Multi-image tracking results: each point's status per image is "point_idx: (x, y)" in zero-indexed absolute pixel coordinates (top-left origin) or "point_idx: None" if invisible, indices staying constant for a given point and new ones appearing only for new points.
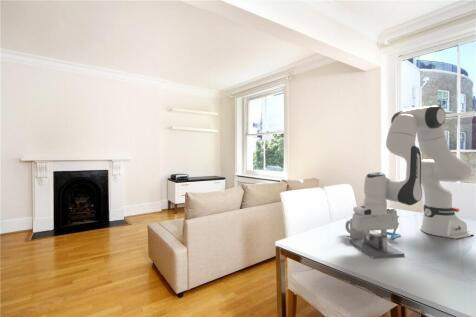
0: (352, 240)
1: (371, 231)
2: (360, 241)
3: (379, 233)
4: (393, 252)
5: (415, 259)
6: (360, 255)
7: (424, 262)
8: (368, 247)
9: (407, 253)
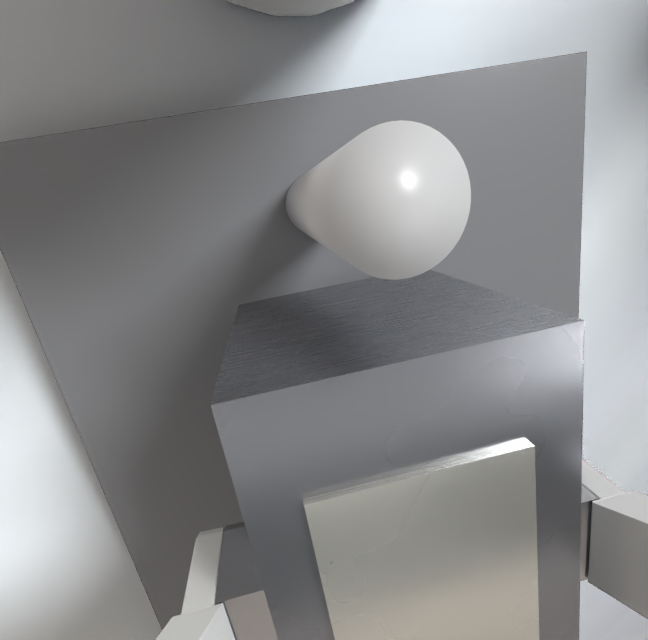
0: (27, 184)
1: (444, 483)
2: (190, 239)
3: (572, 600)
4: None
5: (592, 591)
6: (63, 615)
7: (616, 628)
8: (229, 485)
9: (629, 481)
